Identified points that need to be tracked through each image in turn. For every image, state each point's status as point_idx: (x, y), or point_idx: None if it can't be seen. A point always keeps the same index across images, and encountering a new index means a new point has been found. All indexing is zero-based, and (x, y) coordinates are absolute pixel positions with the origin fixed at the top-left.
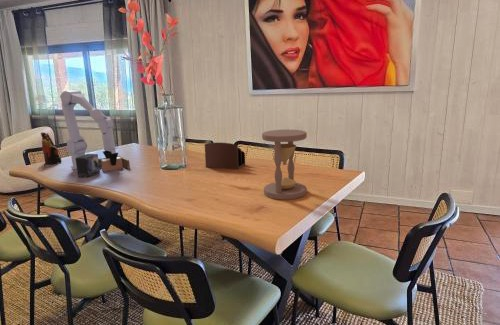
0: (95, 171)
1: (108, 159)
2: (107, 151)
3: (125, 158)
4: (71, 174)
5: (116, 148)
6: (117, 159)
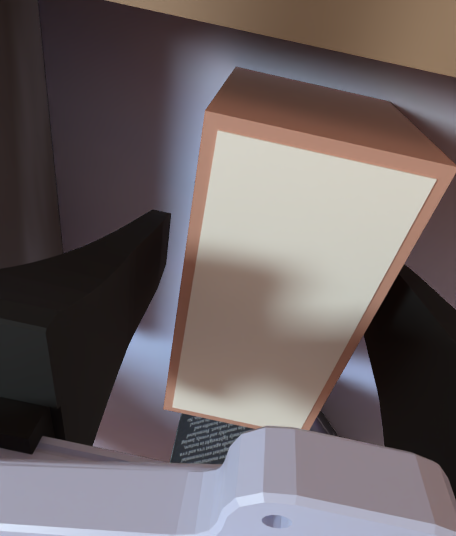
0: (320, 424)
1: (271, 365)
2: (70, 436)
3: (450, 1)
4: (137, 453)
5: (439, 503)
6: (399, 255)
